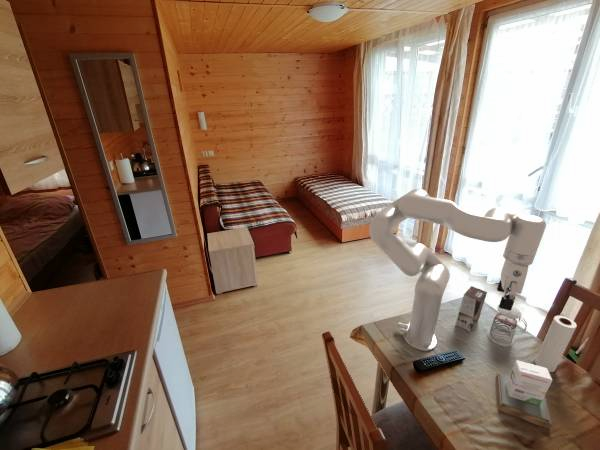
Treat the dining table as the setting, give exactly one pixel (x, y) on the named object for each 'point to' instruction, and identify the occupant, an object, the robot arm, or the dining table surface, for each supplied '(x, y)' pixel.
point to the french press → (505, 334)
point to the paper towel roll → (555, 342)
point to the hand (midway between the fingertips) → (503, 299)
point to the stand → (521, 405)
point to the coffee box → (471, 308)
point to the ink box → (528, 382)
